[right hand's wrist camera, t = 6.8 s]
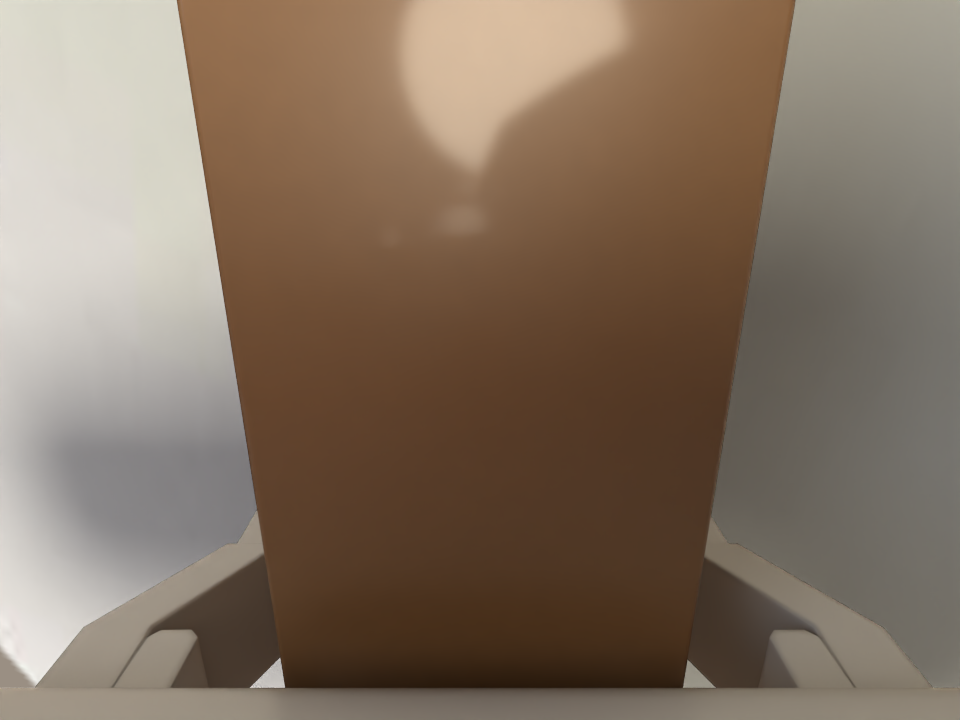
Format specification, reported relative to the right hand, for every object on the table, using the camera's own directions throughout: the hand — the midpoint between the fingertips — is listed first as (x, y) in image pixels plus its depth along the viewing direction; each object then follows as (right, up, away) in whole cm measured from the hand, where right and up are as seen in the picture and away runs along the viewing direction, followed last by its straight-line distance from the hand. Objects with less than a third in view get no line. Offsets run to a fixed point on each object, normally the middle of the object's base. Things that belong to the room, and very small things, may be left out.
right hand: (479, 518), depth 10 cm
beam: (0, +21, -4) cm, 21 cm away
